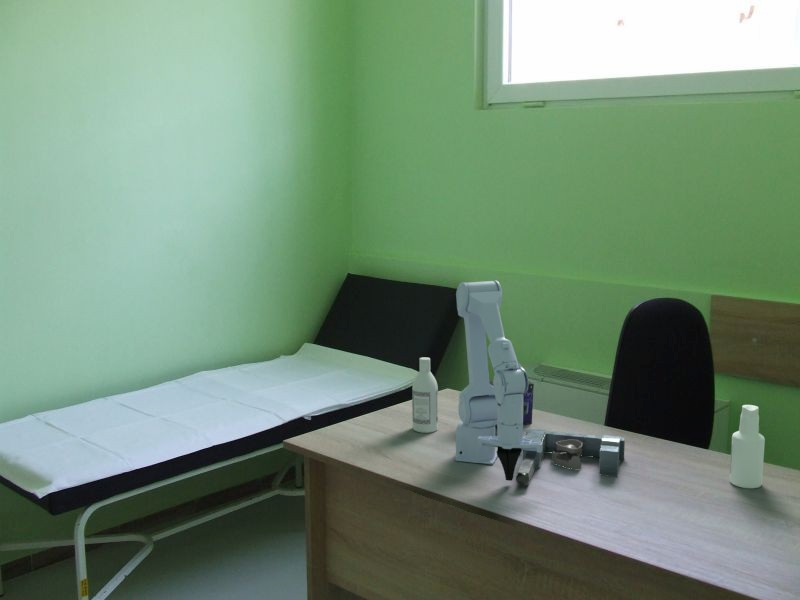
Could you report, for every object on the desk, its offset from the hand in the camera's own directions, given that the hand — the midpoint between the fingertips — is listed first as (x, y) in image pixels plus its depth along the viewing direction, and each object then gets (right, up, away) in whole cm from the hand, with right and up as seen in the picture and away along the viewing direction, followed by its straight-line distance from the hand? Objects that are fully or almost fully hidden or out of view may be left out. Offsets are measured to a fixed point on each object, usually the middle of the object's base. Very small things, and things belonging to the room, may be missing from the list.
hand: (509, 478), depth 188 cm
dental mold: (+16, +1, +13) cm, 21 cm away
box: (+3, +6, +42) cm, 43 cm away
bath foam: (-18, +5, +39) cm, 43 cm away
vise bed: (+17, +1, +14) cm, 22 cm away
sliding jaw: (+6, 0, +8) cm, 10 cm away
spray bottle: (+53, -1, 0) cm, 53 cm away
